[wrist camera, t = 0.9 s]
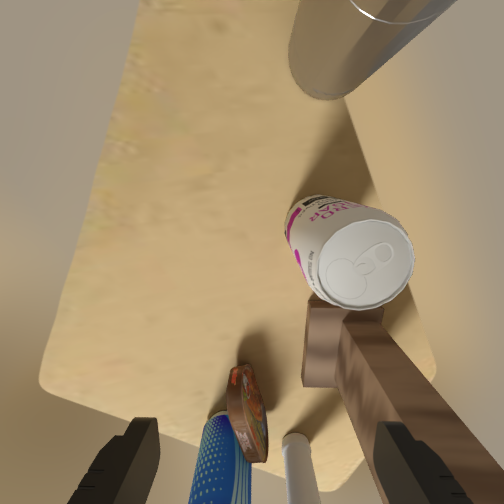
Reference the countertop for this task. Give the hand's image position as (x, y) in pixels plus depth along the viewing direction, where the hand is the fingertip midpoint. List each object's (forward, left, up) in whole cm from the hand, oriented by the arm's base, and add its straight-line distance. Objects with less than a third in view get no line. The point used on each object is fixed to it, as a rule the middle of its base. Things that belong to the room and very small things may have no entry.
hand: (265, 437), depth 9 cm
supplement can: (-3, +7, -25) cm, 26 cm away
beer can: (+33, -5, -25) cm, 42 cm away
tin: (+25, -1, -25) cm, 36 cm away
